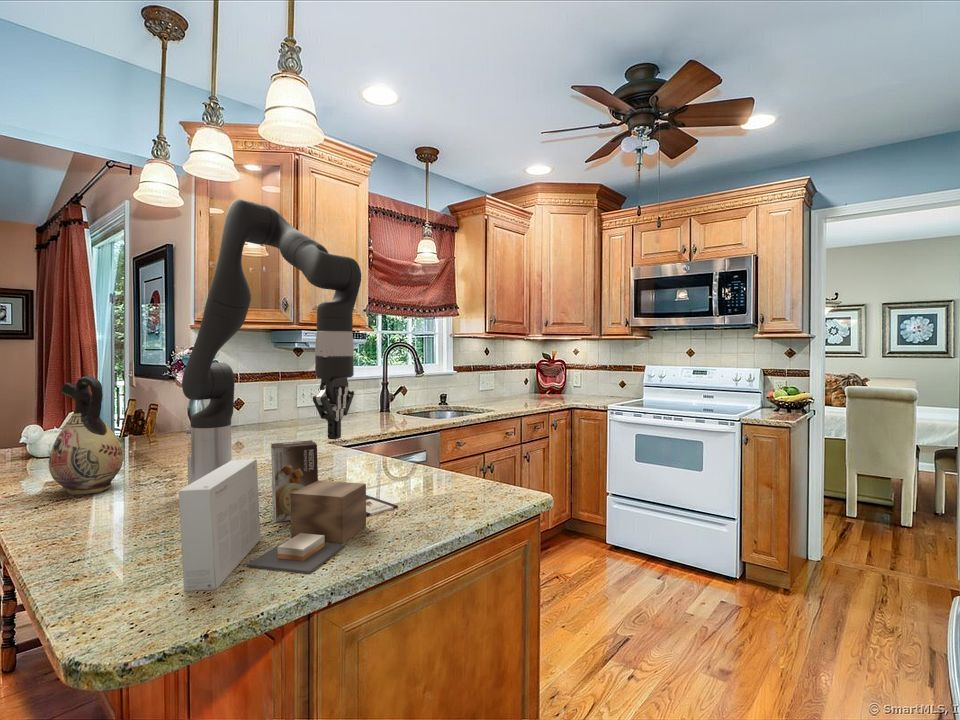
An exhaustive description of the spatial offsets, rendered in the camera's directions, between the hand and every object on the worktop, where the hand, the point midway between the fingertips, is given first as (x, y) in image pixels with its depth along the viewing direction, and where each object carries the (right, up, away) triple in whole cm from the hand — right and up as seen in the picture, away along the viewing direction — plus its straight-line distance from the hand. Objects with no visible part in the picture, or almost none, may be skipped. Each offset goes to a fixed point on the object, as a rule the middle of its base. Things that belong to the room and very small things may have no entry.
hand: (334, 438), depth 107 cm
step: (0, -19, -2) cm, 19 cm away
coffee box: (-11, -19, +9) cm, 24 cm away
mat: (-3, -19, -13) cm, 23 cm away
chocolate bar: (+1, -19, +18) cm, 26 cm away
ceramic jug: (-71, -18, +29) cm, 79 cm away
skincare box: (-14, -19, -16) cm, 29 cm away
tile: (-2, -17, -12) cm, 21 cm away
